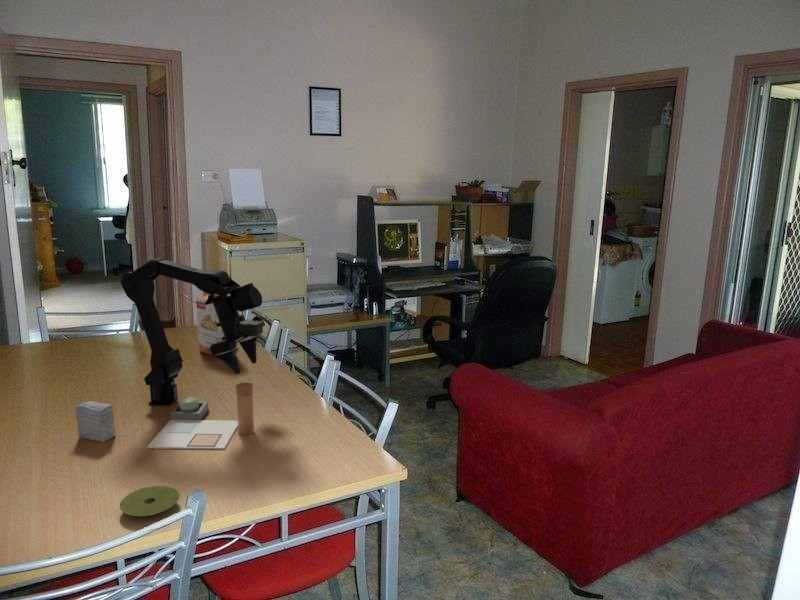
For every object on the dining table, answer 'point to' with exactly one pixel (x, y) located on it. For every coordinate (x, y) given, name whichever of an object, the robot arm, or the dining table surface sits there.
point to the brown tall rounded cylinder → (245, 408)
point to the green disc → (149, 500)
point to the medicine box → (95, 421)
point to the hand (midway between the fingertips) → (246, 368)
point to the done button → (189, 405)
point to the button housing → (189, 413)
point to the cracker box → (207, 325)
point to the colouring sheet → (194, 434)
